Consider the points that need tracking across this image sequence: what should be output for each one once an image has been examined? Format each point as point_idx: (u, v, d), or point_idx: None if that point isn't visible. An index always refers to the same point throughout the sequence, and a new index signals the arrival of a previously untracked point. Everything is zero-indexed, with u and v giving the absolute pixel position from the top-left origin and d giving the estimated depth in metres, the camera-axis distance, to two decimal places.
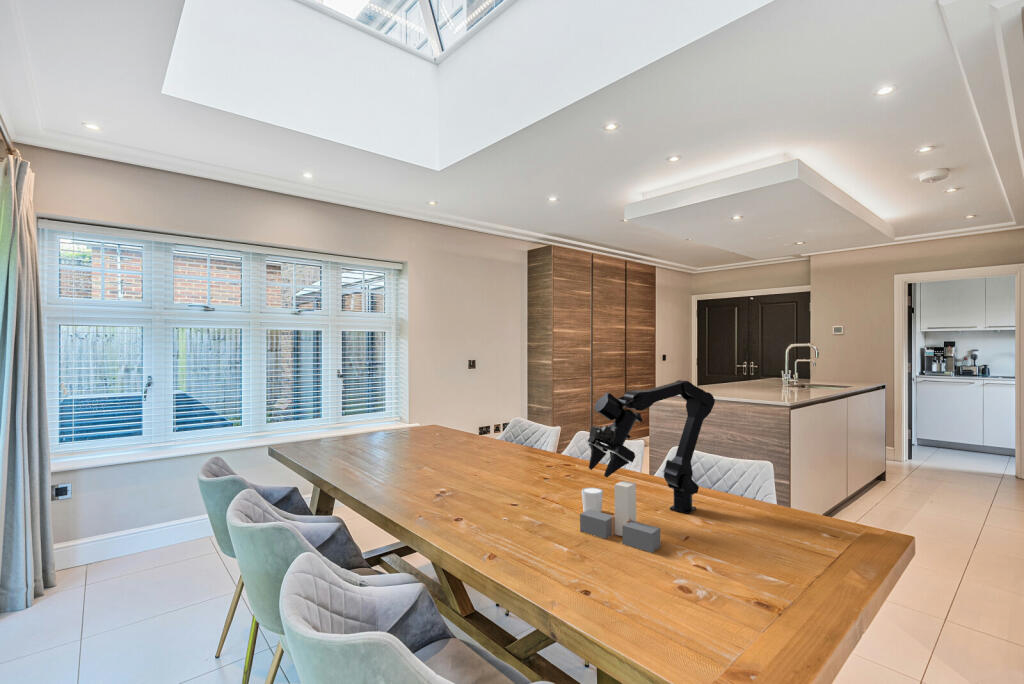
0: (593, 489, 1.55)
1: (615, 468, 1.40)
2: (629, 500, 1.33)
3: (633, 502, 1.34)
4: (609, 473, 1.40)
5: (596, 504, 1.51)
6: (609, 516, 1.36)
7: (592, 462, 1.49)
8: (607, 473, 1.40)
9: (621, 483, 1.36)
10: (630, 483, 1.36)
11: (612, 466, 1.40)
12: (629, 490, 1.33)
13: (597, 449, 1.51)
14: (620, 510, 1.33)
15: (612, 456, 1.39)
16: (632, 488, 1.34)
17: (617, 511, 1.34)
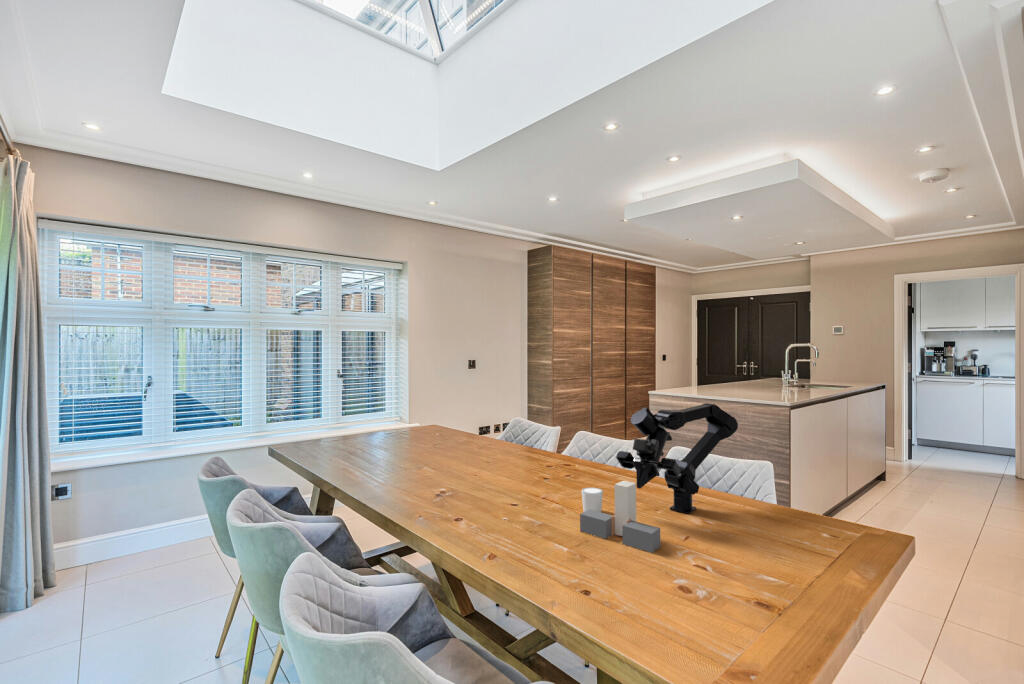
0: (593, 489, 1.55)
1: (647, 480, 1.42)
2: (629, 500, 1.33)
3: (633, 502, 1.34)
4: (642, 484, 1.41)
5: (596, 504, 1.51)
6: (609, 516, 1.36)
7: None
8: (641, 485, 1.41)
9: (621, 483, 1.36)
10: (630, 483, 1.36)
11: (646, 477, 1.42)
12: (629, 490, 1.33)
13: (642, 467, 1.45)
14: (620, 510, 1.33)
15: (648, 467, 1.42)
16: (632, 488, 1.34)
17: (617, 511, 1.34)
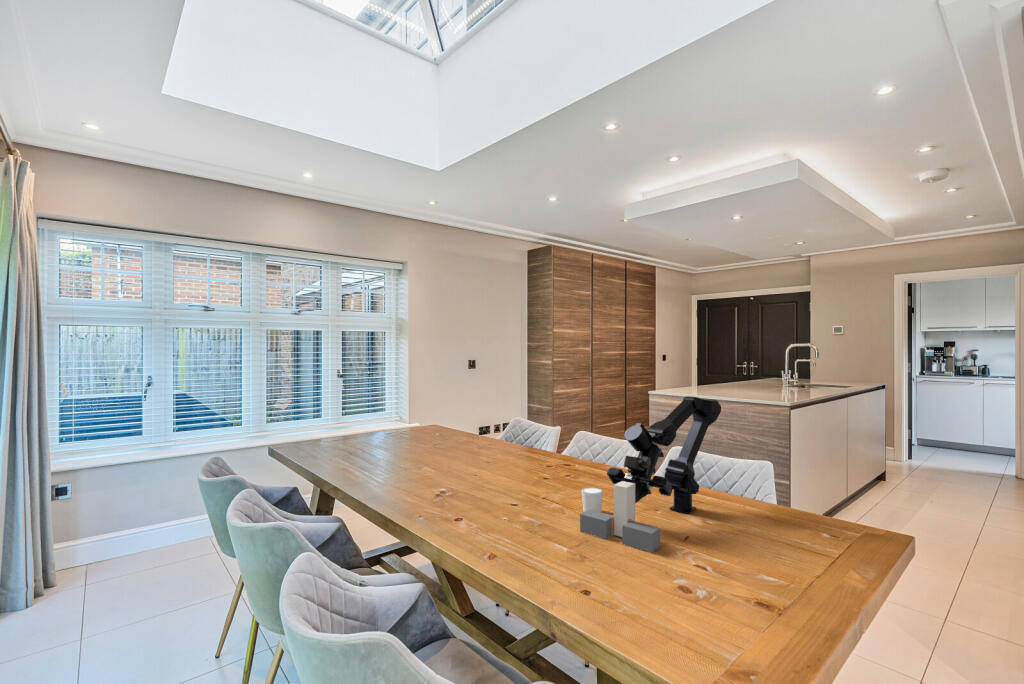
0: (593, 489, 1.55)
1: (638, 498, 1.38)
2: (628, 500, 1.32)
3: (632, 502, 1.34)
4: None
5: (596, 504, 1.51)
6: (609, 516, 1.36)
7: None
8: None
9: (620, 483, 1.36)
10: (629, 483, 1.35)
11: (637, 496, 1.38)
12: (628, 490, 1.33)
13: None
14: (619, 510, 1.33)
15: (640, 485, 1.38)
16: (631, 488, 1.34)
17: (616, 512, 1.34)
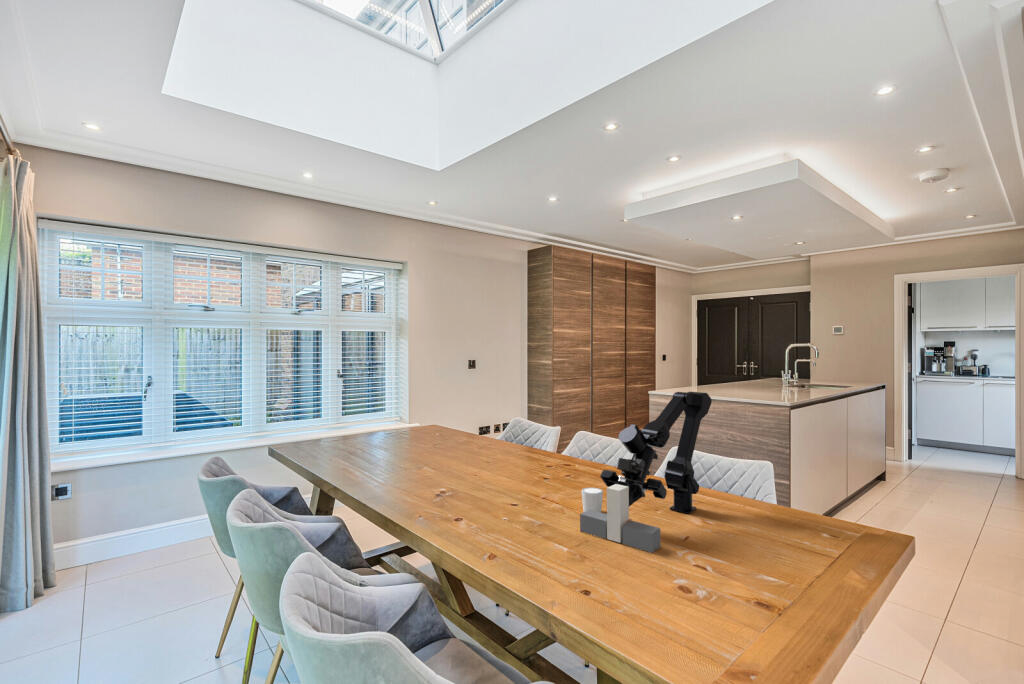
0: (593, 489, 1.55)
1: (632, 502, 1.35)
2: (621, 504, 1.30)
3: (625, 506, 1.31)
4: None
5: (596, 504, 1.51)
6: None
7: None
8: None
9: (613, 486, 1.33)
10: (623, 486, 1.32)
11: (630, 499, 1.35)
12: (621, 493, 1.30)
13: None
14: (612, 514, 1.30)
15: (633, 488, 1.35)
16: (625, 492, 1.31)
17: (609, 515, 1.31)
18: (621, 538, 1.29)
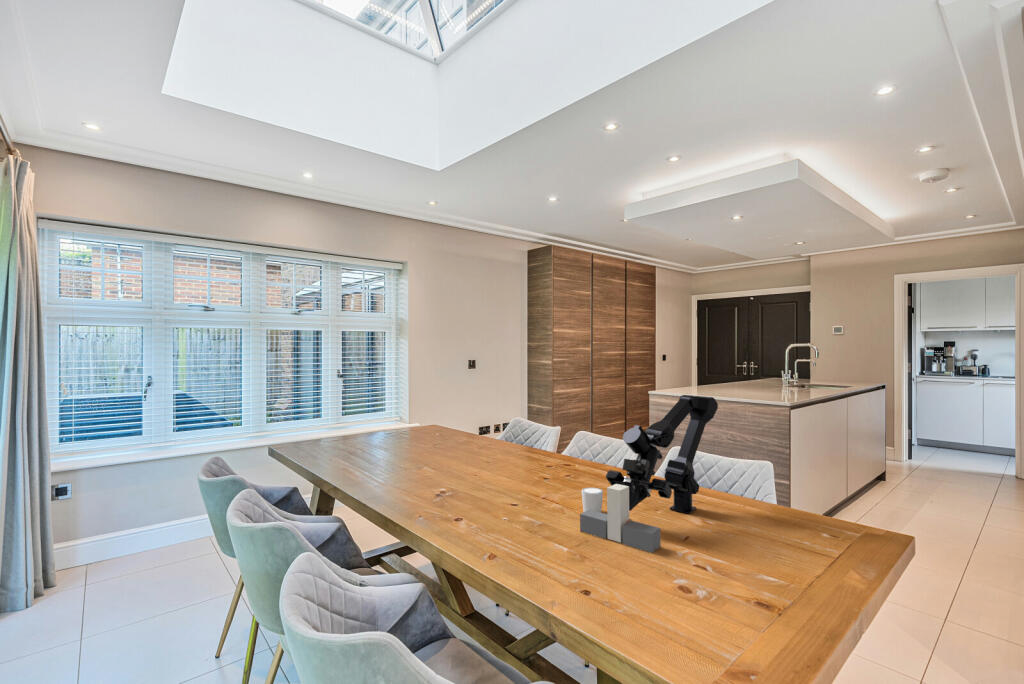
0: (593, 489, 1.55)
1: (637, 501, 1.38)
2: (621, 504, 1.30)
3: (625, 506, 1.31)
4: (633, 506, 1.37)
5: (596, 504, 1.51)
6: None
7: None
8: (631, 507, 1.36)
9: (614, 486, 1.33)
10: (623, 486, 1.33)
11: (636, 499, 1.37)
12: (622, 493, 1.30)
13: (632, 488, 1.40)
14: (613, 514, 1.30)
15: (639, 488, 1.37)
16: (625, 491, 1.31)
17: (610, 515, 1.31)
18: (621, 538, 1.30)
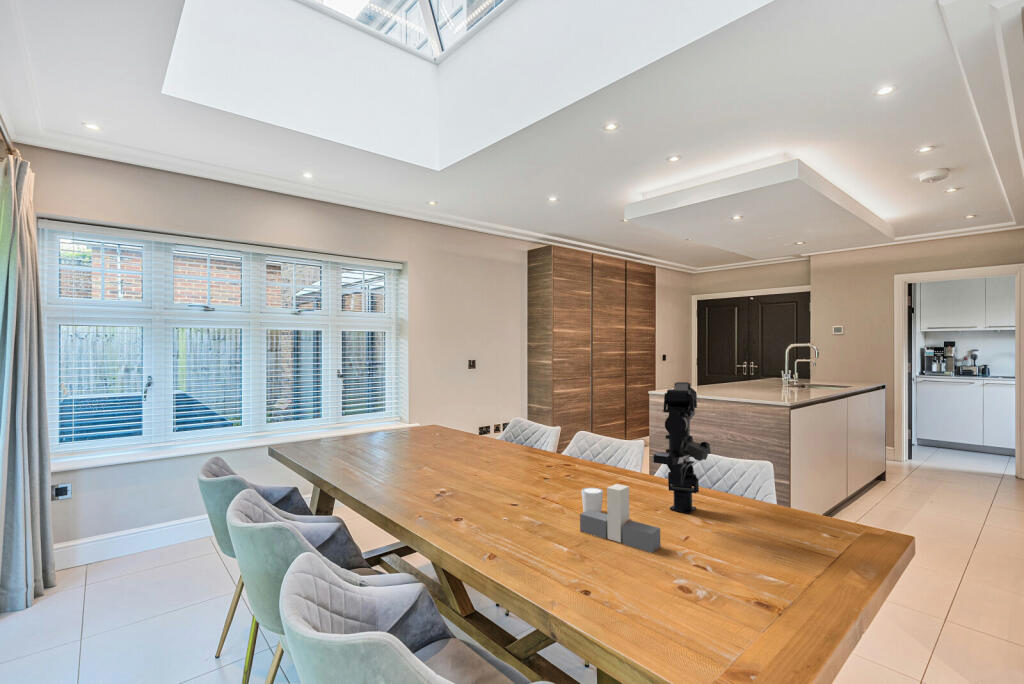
0: (593, 489, 1.55)
1: None
2: (621, 504, 1.30)
3: (625, 506, 1.31)
4: None
5: (596, 504, 1.51)
6: None
7: None
8: None
9: (614, 486, 1.33)
10: (623, 486, 1.33)
11: None
12: (622, 493, 1.30)
13: None
14: (613, 514, 1.30)
15: (690, 464, 1.41)
16: (625, 491, 1.31)
17: (610, 515, 1.31)
18: (621, 538, 1.30)
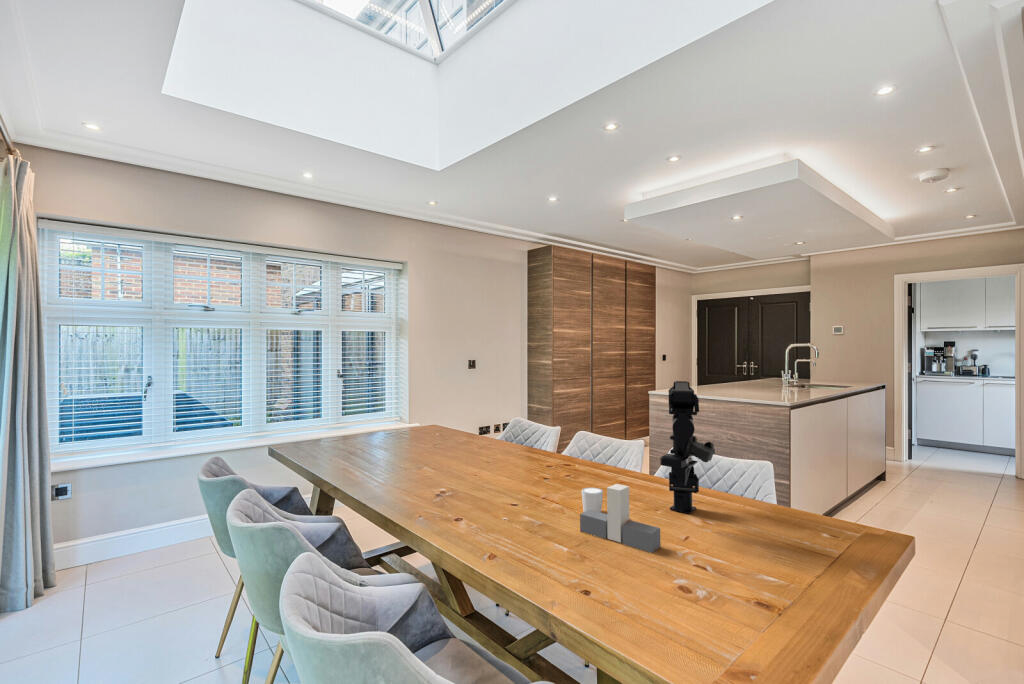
0: (593, 489, 1.55)
1: None
2: (621, 504, 1.30)
3: (625, 506, 1.31)
4: None
5: (596, 504, 1.51)
6: None
7: None
8: None
9: (614, 486, 1.33)
10: (623, 486, 1.33)
11: None
12: (622, 493, 1.30)
13: None
14: (613, 514, 1.30)
15: (693, 464, 1.41)
16: (625, 491, 1.31)
17: (610, 515, 1.31)
18: (621, 538, 1.30)
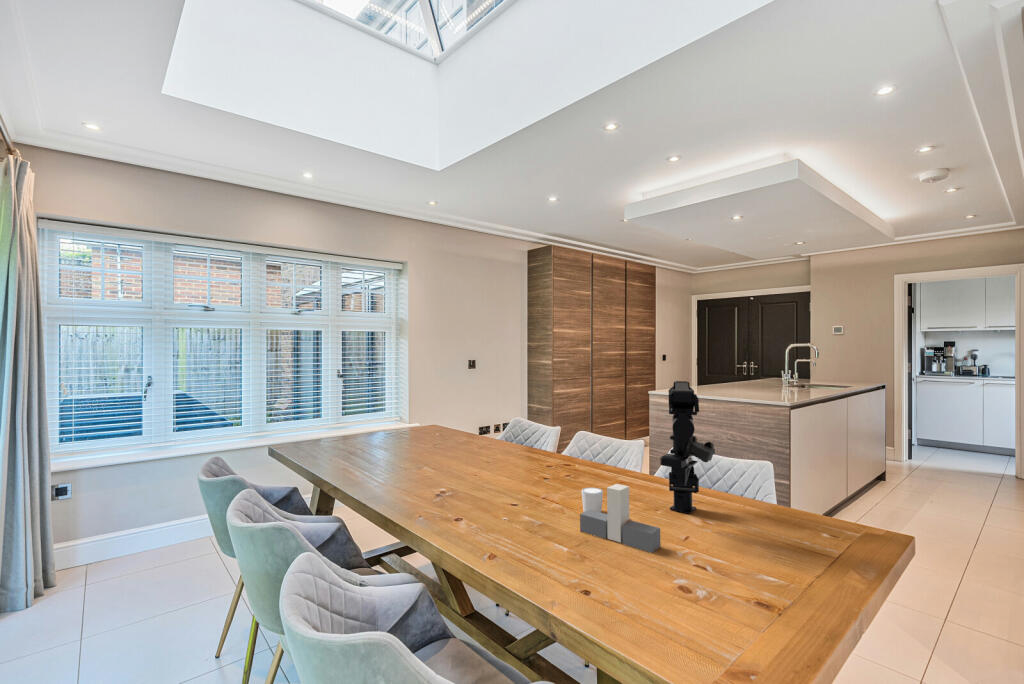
0: (593, 489, 1.55)
1: None
2: (621, 504, 1.30)
3: (625, 506, 1.31)
4: None
5: (596, 504, 1.51)
6: None
7: None
8: None
9: (614, 486, 1.33)
10: (623, 486, 1.33)
11: None
12: (622, 493, 1.30)
13: None
14: (613, 514, 1.30)
15: (693, 464, 1.41)
16: (625, 491, 1.31)
17: (610, 515, 1.31)
18: (621, 538, 1.30)
